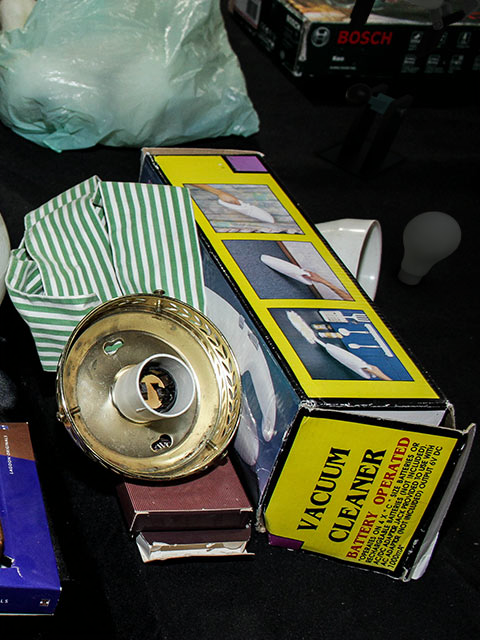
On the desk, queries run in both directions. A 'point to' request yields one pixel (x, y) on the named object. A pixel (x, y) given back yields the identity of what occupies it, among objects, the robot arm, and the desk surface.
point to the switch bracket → (362, 153)
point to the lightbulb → (427, 244)
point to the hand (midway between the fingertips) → (388, 40)
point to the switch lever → (367, 98)
